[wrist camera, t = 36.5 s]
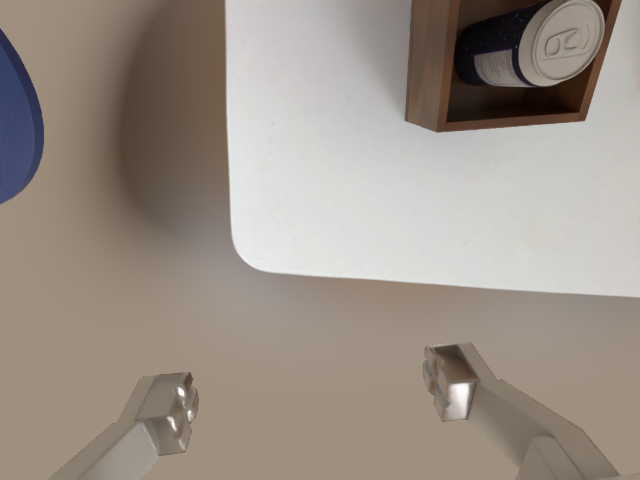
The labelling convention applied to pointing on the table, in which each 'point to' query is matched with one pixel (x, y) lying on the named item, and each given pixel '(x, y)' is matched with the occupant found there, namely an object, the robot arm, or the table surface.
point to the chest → (485, 101)
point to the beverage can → (531, 45)
